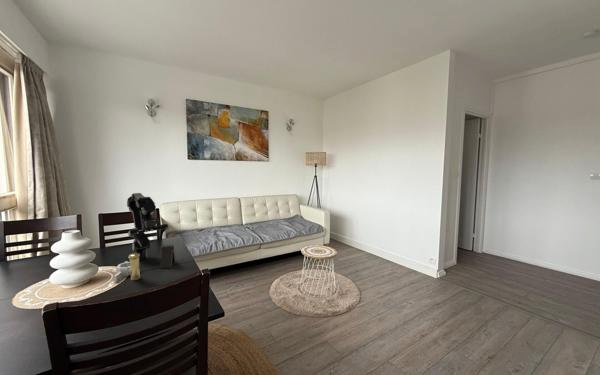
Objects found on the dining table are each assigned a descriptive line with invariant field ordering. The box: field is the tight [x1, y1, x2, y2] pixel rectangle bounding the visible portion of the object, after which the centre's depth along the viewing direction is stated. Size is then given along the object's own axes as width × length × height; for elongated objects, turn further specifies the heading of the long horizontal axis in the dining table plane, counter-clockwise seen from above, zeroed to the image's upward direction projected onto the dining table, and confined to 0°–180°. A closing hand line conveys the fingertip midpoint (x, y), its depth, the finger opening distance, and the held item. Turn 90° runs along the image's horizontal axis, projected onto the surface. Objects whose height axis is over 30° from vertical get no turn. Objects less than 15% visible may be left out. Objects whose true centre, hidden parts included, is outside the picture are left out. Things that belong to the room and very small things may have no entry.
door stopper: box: [159, 244, 177, 269], centre depth 148 cm, size 9×6×12 cm, turn 8°
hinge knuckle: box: [113, 260, 131, 283], centre depth 137 cm, size 20×8×4 cm, turn 21°
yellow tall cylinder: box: [128, 252, 141, 281], centre depth 131 cm, size 5×5×13 cm
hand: (151, 244), depth 137 cm, fingers open, 9 cm apart
